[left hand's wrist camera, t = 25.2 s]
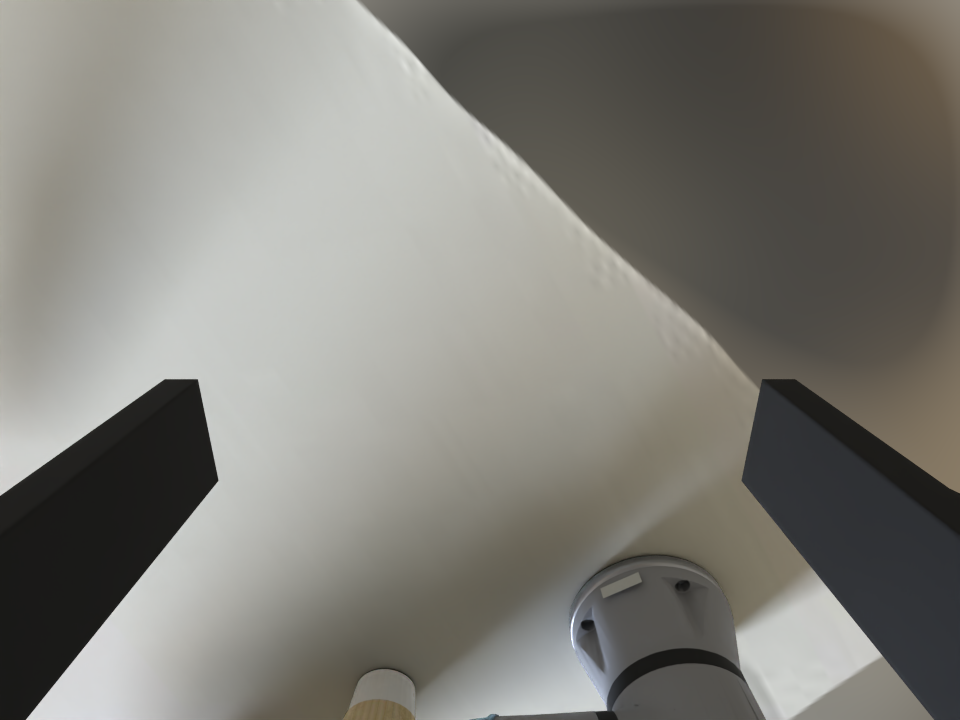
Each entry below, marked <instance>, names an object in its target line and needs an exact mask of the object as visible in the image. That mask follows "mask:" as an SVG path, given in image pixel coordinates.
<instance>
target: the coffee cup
mask: <svg viewBox="0 0 960 720" xmlns="http://www.w3.org/2000/svg"><path fill="white" fill-rule="evenodd" d="M343 720H415V687H414V684H413V682H412V681H411V680H410V679H409V678H408V677H407V676H406V675H404V674H402V673H400V672H398V671H394V670H389V669H379V670H374V671H371V672H369V673H367V674H365V675H364V676H363V677H361V679H360V680H359V681H358V684H357V686H356V689H355V692H354V695H353V698H352V700H351V703H350V706H349V709H348V711H347V713H346V714H345V716H344V719H343Z"/></svg>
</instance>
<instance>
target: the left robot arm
mask: <svg viewBox="0 0 960 720" xmlns="http://www.w3.org/2000/svg"><path fill="white" fill-rule="evenodd" d="M217 482H218V476H217V471H216V466H215V461H214V457H213V452H212V447H211V442H210V437H209V432H208V427H207V422H206V417H205V412H204V408H203V403H202V398H201V393H200V388H199V383H198V379H165V380H163V381H162V382H160V383H159V384H158V385H156V386H155V387H153V388H152V389H151V390H149V391H148V392H146V393H145V394H144V395H142V396H141V397H139V398H138V399H136V400H135V401H134V402H132V403H131V404H129V405H128V406H127V407H125V408H124V409H122V410H121V411H120V412H118V413H117V414H115V415H114V416H112V417H111V418H110V419H108V420H107V421H105V422H104V423H103V424H101V425H100V426H98V427H97V428H96V429H94V430H93V431H91V432H90V433H88V434H87V435H86V436H84V437H83V438H81V439H80V440H79V441H77V442H76V443H74V444H73V445H71V446H70V447H69V448H67V449H66V450H64V451H63V452H62V453H60V454H59V455H57V456H56V457H55V458H53V459H52V460H50V461H49V462H47V463H46V464H45V465H43V466H42V467H40V468H39V469H38V470H36V471H35V472H33V473H32V474H31V475H29V476H28V477H26V478H25V479H23V480H22V481H21V482H19V483H18V484H16V485H15V486H14V487H12V488H11V489H9V490H8V491H7V492H5V493H4V494H2V495H1V496H0V720H26V719H27V718H28V716H29V715H30V714H31V713H32V711H33V710H34V709H35V708H36V706H37V705H38V704H39V703H40V701H41V700H42V699H43V698H44V696H45V695H46V694H47V693H48V691H49V690H50V689H51V688H52V686H53V685H54V684H55V683H56V682H57V680H58V679H59V678H60V677H61V675H62V674H63V673H64V672H65V670H66V669H67V668H68V667H69V665H70V664H71V663H72V662H73V660H74V659H75V658H76V657H77V655H78V654H79V653H80V652H81V651H82V649H83V648H84V647H85V646H86V644H87V643H88V642H89V641H90V639H91V638H92V637H93V636H94V634H95V633H96V632H97V631H98V629H99V628H100V627H101V626H102V624H103V623H104V622H105V621H106V620H107V618H108V617H109V616H110V615H111V613H112V612H113V611H114V610H115V608H116V607H117V606H118V605H119V603H120V602H121V601H122V600H123V598H124V597H125V596H126V595H127V593H128V592H129V591H130V590H131V588H132V587H133V586H134V585H135V584H136V582H137V581H138V580H139V579H140V577H141V576H142V575H143V574H144V572H145V571H146V570H147V569H148V567H149V566H150V565H151V564H152V562H153V561H154V560H155V559H156V557H157V556H158V555H159V554H160V553H161V551H162V550H163V549H164V548H165V546H166V545H167V544H168V543H169V541H170V540H171V539H172V538H173V536H174V535H175V534H176V533H177V531H178V530H179V529H180V528H181V526H182V525H183V524H184V523H185V522H186V520H187V519H188V518H189V517H190V515H191V514H192V513H193V512H194V510H195V509H196V508H197V507H198V505H199V504H200V503H201V502H202V500H203V499H204V498H205V497H206V495H207V494H208V493H209V492H210V490H211V489H212V488H213V487H214V486H215V484H216V483H217ZM742 482H743V483H744V484H745V486H746V487H747V488H748V489H749V490H750V492H751V493H752V494H753V495H754V497H755V498H756V499H757V500H758V502H759V503H760V504H761V505H762V507H763V508H764V509H765V510H766V512H767V513H768V514H769V515H770V517H771V518H772V519H773V520H774V522H775V523H776V524H777V525H778V526H779V528H780V529H781V530H782V531H783V533H784V534H785V535H786V536H787V538H788V539H789V540H790V541H791V543H792V544H793V545H794V546H795V548H796V549H797V550H798V551H799V553H800V554H801V555H802V556H803V557H804V559H805V560H806V561H807V562H808V564H809V565H810V566H811V567H812V569H813V570H814V571H815V572H816V574H817V575H818V576H819V577H820V579H821V580H822V581H823V582H824V584H825V585H826V586H827V587H828V588H829V590H830V591H831V592H832V593H833V595H834V596H835V597H836V598H837V600H838V601H839V602H840V603H841V605H842V606H843V607H844V608H845V610H846V611H847V612H848V613H849V615H850V616H851V617H852V618H853V620H854V621H855V622H856V623H857V624H858V626H859V627H860V628H861V629H862V631H863V632H864V633H865V634H866V636H867V637H868V638H869V639H870V641H871V642H872V643H873V644H874V646H875V647H876V648H877V649H878V651H879V652H880V653H881V654H882V655H883V657H884V658H885V659H886V660H887V662H888V663H889V664H890V665H891V667H892V668H893V669H894V670H895V672H896V673H897V674H898V675H899V677H900V678H901V679H902V680H903V682H904V683H905V684H906V685H907V686H908V688H909V689H910V690H911V691H912V693H913V694H914V695H915V696H916V698H917V699H918V700H919V701H920V703H921V704H922V705H923V706H924V707H925V709H926V710H927V711H928V713H929V714H930V715H931V716H932V718H933V719H934V720H960V493H958V492H955V491H953V490H951V489H949V488H948V487H946V486H945V485H944V484H942V483H941V482H939V481H938V480H936V479H935V478H934V477H932V476H931V475H929V474H928V473H927V472H925V471H924V470H922V469H921V468H920V467H918V466H917V465H915V464H914V463H913V462H911V461H910V460H908V459H907V458H905V457H904V456H903V455H901V454H900V453H898V452H897V451H895V450H894V449H893V448H891V447H890V446H888V445H887V444H886V443H884V442H883V441H881V440H880V439H879V438H877V437H876V436H874V435H873V434H872V433H870V432H869V431H867V430H866V429H864V428H863V427H862V426H860V425H859V424H857V423H856V422H855V421H853V420H852V419H850V418H849V417H847V416H846V415H845V414H843V413H842V412H840V411H839V410H838V409H836V408H835V407H833V406H832V405H831V404H829V403H828V402H826V401H825V400H824V399H822V398H821V397H819V396H818V395H816V394H815V393H814V392H812V391H811V390H809V389H808V388H807V387H805V386H804V385H802V384H801V383H800V382H798V381H797V380H795V379H763V380H762V383H761V388H760V393H759V398H758V403H757V408H756V412H755V417H754V422H753V427H752V432H751V437H750V442H749V447H748V452H747V457H746V461H745V466H744V471H743V476H742ZM569 627H570V633H571V638H572V643H573V647H574V649H575V652H576V654H577V657H578V659H579V661H580V663H581V664H582V666H583V668H584V669H585V671H586V673H587V674H588V676H589V678H590V679H591V681H592V683H593V684H594V686H595V688H596V689H597V691H598V693H599V695H600V696H601V698H602V700H603V701H604V703H605V705H606V707H607V711H598V712H595V711H590V712H574V713H557V714H541V715H519V716H499V715H497V714H491V715H489V716H488V717H486V718H478V719H471V720H766V719H765V717H764V715H763V713H762V711H761V709H760V707H759V705H758V703H757V702H756V700H755V698H754V696H753V694H752V692H751V690H750V688H749V686H748V684H747V682H746V680H745V678H744V676H743V674H742V672H741V670H740V663H739V656H738V649H737V642H736V635H735V627H734V620H733V615H732V612H731V609H730V606H729V603H728V601H727V599H726V597H725V595H724V593H723V591H722V590H721V588H720V586H719V585H718V583H717V582H716V580H715V579H714V578H713V577H712V576H711V575H710V574H709V573H708V572H707V571H705V570H704V569H703V568H701V567H699V566H698V565H696V564H694V563H692V562H689V561H686V560H683V559H680V558H675V557H670V556H642V557H636V558H631V559H628V560H624V561H621V562H619V563H616V564H614V565H612V566H609V567H607V568H606V569H604V570H602V571H601V572H599V573H598V574H596V575H595V576H594V577H592V578H591V579H590V580H589V581H588V582H587V583H586V584H585V585H584V586H583V587H582V589H581V590H580V591H579V593H578V594H577V596H576V598H575V600H574V602H573V604H572V607H571V610H570V616H569Z"/></svg>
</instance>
